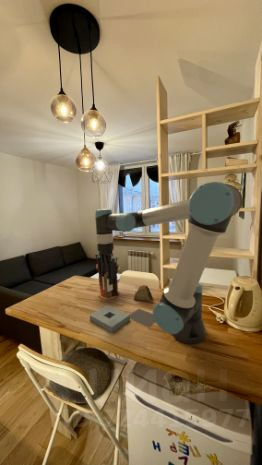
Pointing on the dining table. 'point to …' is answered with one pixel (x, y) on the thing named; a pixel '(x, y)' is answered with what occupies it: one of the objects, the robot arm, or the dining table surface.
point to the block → (111, 323)
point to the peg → (107, 294)
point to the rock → (143, 293)
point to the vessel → (115, 284)
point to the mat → (143, 317)
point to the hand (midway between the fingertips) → (107, 289)
